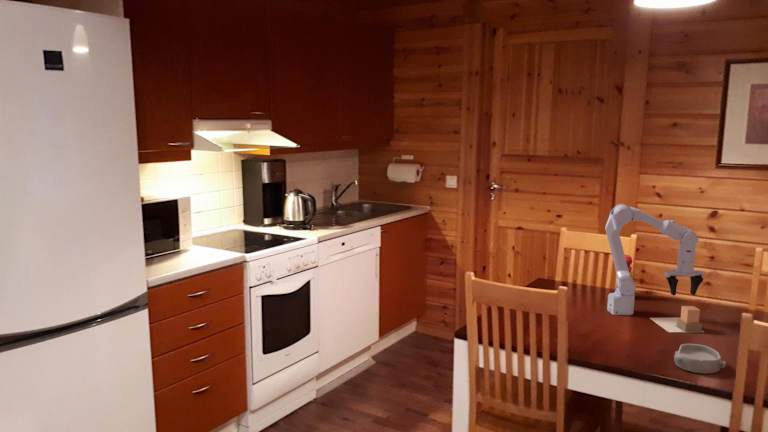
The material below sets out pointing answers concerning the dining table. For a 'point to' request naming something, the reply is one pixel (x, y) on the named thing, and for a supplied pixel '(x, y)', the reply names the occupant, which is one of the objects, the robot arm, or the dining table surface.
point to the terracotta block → (690, 314)
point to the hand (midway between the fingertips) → (682, 294)
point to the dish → (698, 359)
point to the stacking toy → (629, 262)
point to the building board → (667, 323)
